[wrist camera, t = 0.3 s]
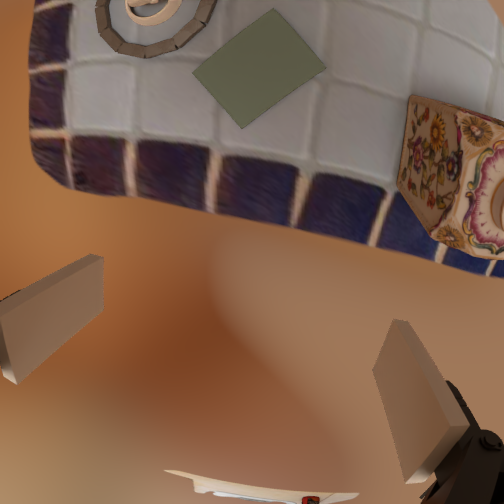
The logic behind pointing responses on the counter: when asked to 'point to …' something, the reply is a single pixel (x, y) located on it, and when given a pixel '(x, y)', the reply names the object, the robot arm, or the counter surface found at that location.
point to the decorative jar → (455, 175)
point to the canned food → (310, 500)
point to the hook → (156, 19)
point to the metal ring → (158, 48)
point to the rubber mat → (258, 68)
